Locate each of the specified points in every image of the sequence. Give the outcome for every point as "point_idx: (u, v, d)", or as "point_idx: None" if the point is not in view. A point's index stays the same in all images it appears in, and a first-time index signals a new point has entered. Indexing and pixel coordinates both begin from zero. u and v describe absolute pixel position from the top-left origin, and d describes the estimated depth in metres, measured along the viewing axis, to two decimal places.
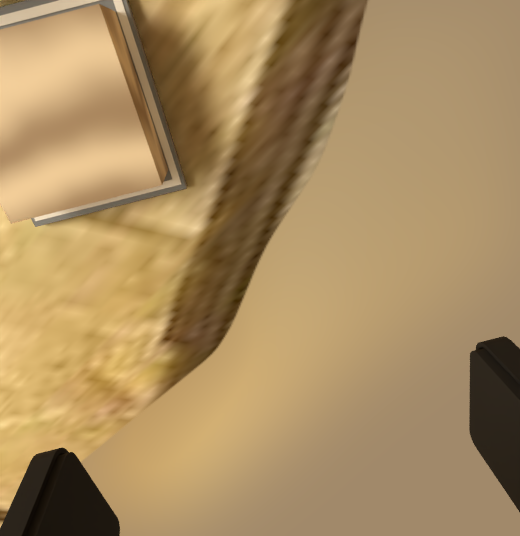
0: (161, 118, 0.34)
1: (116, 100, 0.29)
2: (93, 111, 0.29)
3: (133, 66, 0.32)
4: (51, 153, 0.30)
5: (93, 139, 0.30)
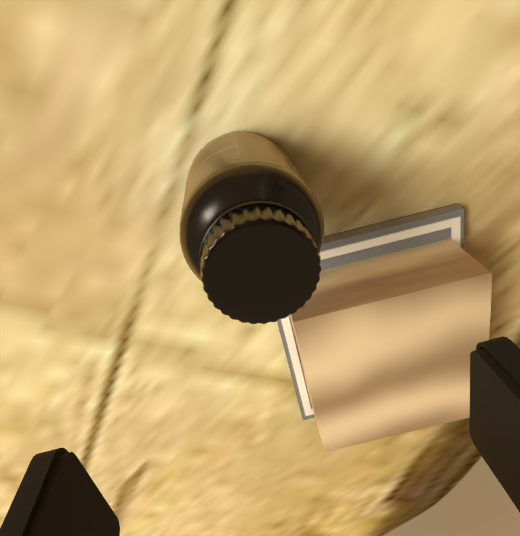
0: None
1: (472, 349, 0.27)
2: (445, 359, 0.27)
3: None
4: (389, 394, 0.28)
5: (435, 381, 0.28)
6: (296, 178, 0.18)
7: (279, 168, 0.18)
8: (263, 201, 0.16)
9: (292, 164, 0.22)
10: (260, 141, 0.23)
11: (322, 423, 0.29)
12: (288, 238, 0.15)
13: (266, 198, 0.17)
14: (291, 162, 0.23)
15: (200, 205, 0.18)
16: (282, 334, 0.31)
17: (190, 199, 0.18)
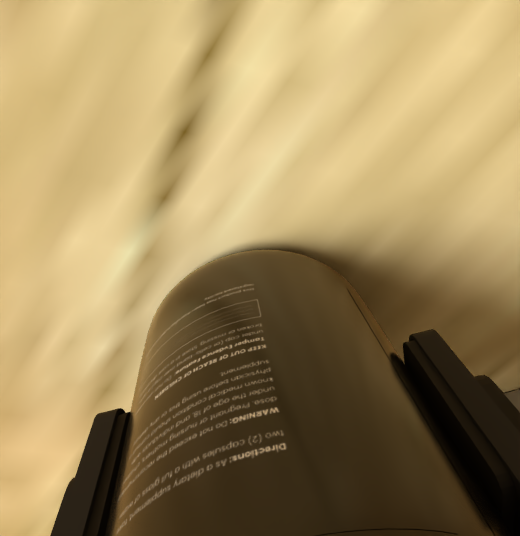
0: None
1: None
2: None
3: None
4: None
5: None
6: None
7: None
8: None
9: (403, 366, 0.08)
10: (316, 298, 0.09)
11: None
12: None
13: None
14: (384, 334, 0.10)
15: None
16: None
17: None
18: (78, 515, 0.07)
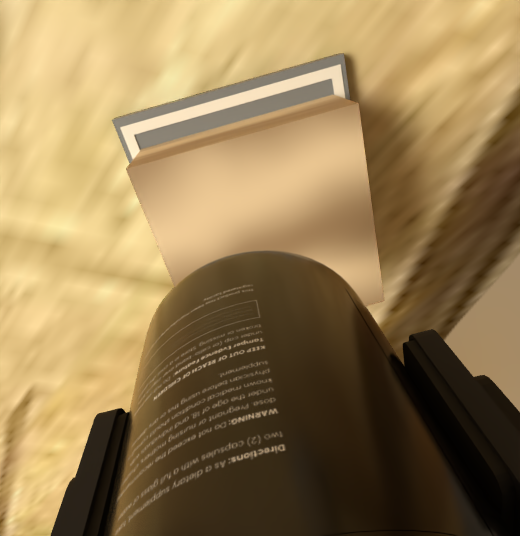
0: None
1: (352, 212, 0.23)
2: (323, 225, 0.23)
3: None
4: None
5: (316, 256, 0.24)
6: None
7: None
8: None
9: (402, 367, 0.08)
10: (315, 299, 0.09)
11: None
12: None
13: None
14: (383, 334, 0.10)
15: None
16: None
17: None
18: (79, 515, 0.07)
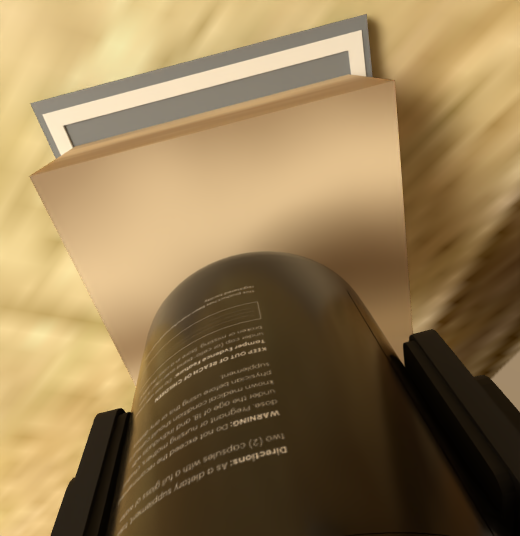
0: None
1: (377, 245, 0.16)
2: (333, 264, 0.16)
3: None
4: None
5: None
6: None
7: None
8: None
9: (403, 368, 0.08)
10: (316, 300, 0.09)
11: None
12: None
13: None
14: (384, 336, 0.10)
15: None
16: None
17: None
18: (78, 515, 0.07)
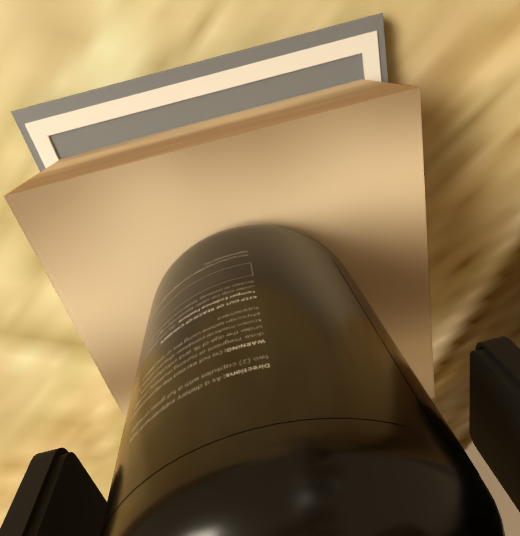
0: None
1: (396, 270, 0.14)
2: None
3: None
4: None
5: None
6: (450, 467, 0.06)
7: (399, 442, 0.06)
8: None
9: (378, 321, 0.10)
10: (302, 262, 0.10)
11: None
12: None
13: None
14: None
15: None
16: None
17: None
18: None
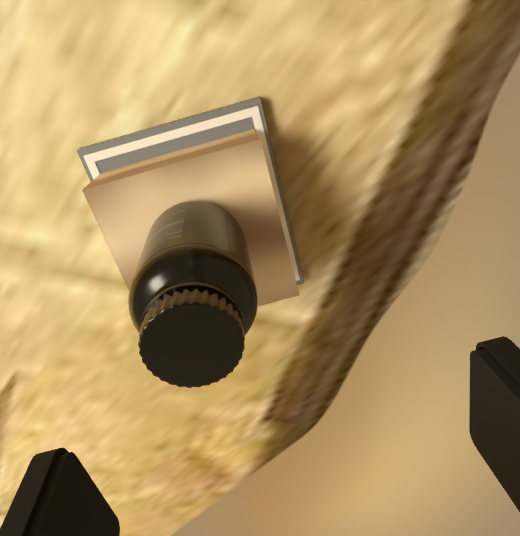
0: (286, 221, 0.34)
1: (265, 223, 0.29)
2: None
3: None
4: None
5: None
6: (227, 256, 0.21)
7: (212, 248, 0.21)
8: (192, 283, 0.19)
9: (234, 233, 0.25)
10: (206, 213, 0.25)
11: None
12: (211, 317, 0.18)
13: (198, 277, 0.20)
14: (236, 229, 0.26)
15: (142, 283, 0.20)
16: None
17: (135, 277, 0.21)
18: None
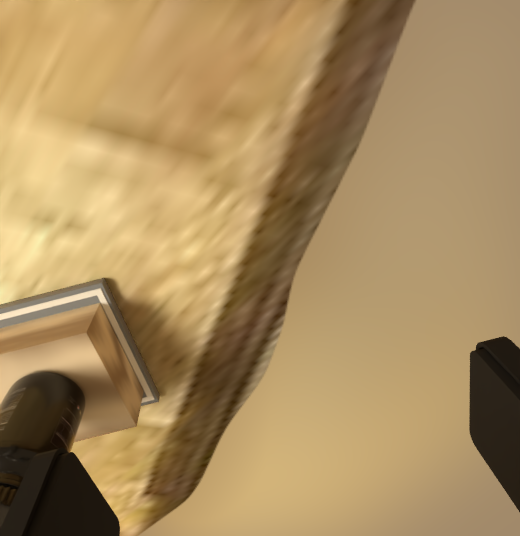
0: (136, 360, 0.44)
1: (100, 382, 0.39)
2: (83, 389, 0.39)
3: (114, 333, 0.42)
4: None
5: None
6: (29, 450, 0.30)
7: (18, 445, 0.30)
8: None
9: (57, 411, 0.34)
10: (40, 392, 0.35)
11: None
12: None
13: (4, 470, 0.29)
14: (65, 400, 0.36)
15: None
16: None
17: None
18: None
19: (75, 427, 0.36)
